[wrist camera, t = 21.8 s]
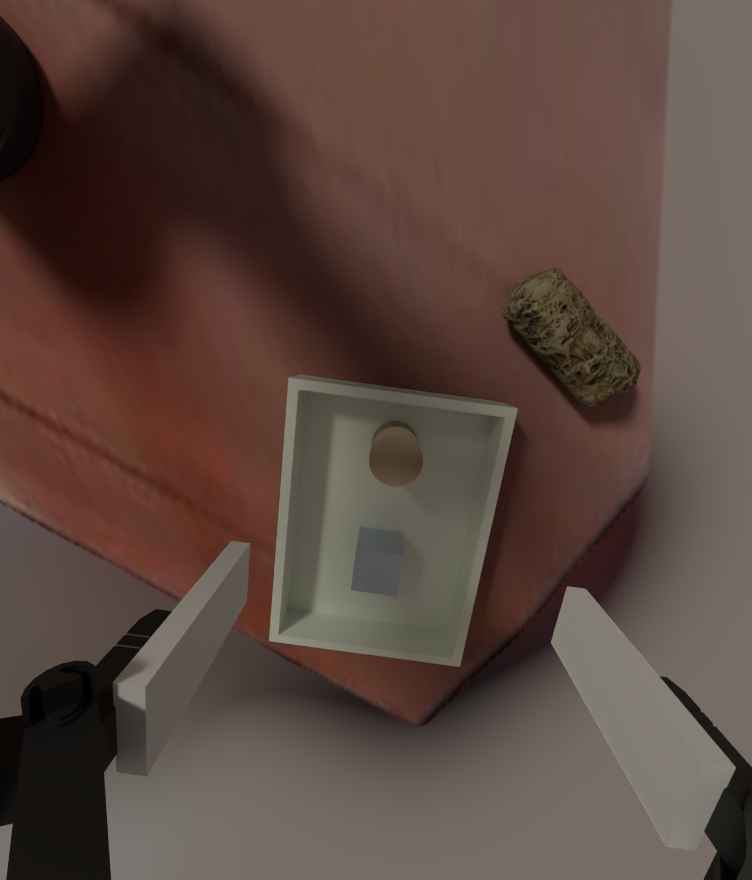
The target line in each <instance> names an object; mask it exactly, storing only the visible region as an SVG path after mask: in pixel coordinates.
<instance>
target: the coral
mask: <svg viewBox="0 0 752 880" xmlns="http://www.w3.org/2000/svg"><path fill="white" fill-rule="evenodd" d="M501 312H502V315H503V316H504V318H505V319H506V321H507V322H509V323H510V324H511V326H513V328H514V329H515V330H516V331H517V332H518V333H519V334H520V335H521V336H522V337H523V338H524V340H526V341H527V343H528V344H529V345H530V347H531V348H532V349H533V350H534V352H535V353H536V354H537V355H538V356H539V357H540V358H541V359H542V360H543V361H544V362H545V363H546V364H547V366H548V367H549V369H551V370H552V371H553V372H554V373H555V375H556V376H557V378H558V379H559V380H560V381H561V382H562V383H563V384H564V386H565V387H566V388H567V389H568V391H569V392H570V393H571V394H572V395H573V396H574V397H575V398H576V399H577V400H578V401H580V402H581V403H583V404H585V405H587V406H589V407H595V406H597V405H599V404H600V403H601V402H602V401H603V400H605V399H607V398H609V397H610V396H611V395H615V394H620V393H625V392H628V391H630V390H631V388H632V387H634V386H635V385H636V384H637V380H638V376H639V374H640V369H641V368H640V366H641V365H640V363H639V361H638V360H637V359H636V357H635V356H634V355H633V354H632V353H631V352H630V351H629V350H628V348H627V347H626V345H625V344H624V343H623V341H622V340H621V339H620V338H619V337H618V336H617V334H616V333H615V332H614V330H613V329H612V328H611V327H610V325H609V324H608V323H607V322H606V321H605V320H604V319H602V318H600V317H598V316H596V315H595V310H594V309H593V308H592V307H591V305H590V303H589V302H588V300H587V299H586V297H585V296H584V295H583V294H582V293H581V292H580V291H579V289H578V288H577V287H576V286H575V285H574V284H573V283H572V282H571V280H569V279H568V278H566V277H565V275H564V273H563V272H562V271H561V270H560V269H559V268H553V269H551V270H549V271H544V272H540V273H538V274H536V275H529V276H527V277H525V278H524V279H521V280H519V281H518V283H517V284H516V285H515V287H514V290H513V292H512V293H511V294H510V297H509V298H508V301H507V302H506V303H505V305H504V307H503V309H502V311H501Z"/></svg>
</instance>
